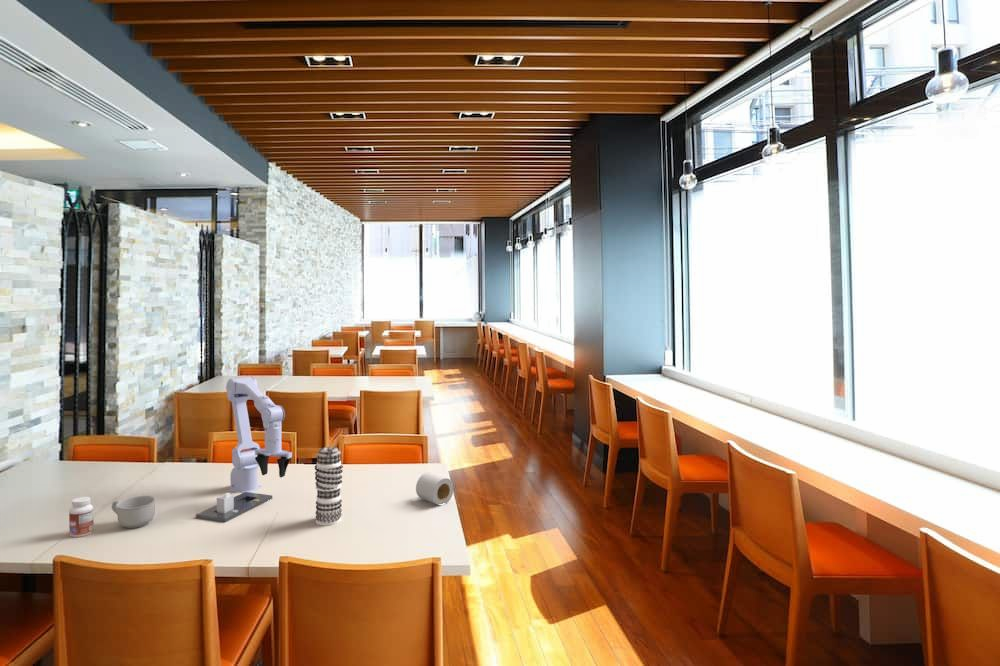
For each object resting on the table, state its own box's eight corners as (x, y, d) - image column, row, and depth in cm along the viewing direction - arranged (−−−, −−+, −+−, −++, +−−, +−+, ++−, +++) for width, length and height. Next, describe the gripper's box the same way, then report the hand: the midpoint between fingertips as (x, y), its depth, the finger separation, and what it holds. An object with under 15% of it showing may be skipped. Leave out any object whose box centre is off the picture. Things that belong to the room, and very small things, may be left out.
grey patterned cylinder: (327, 528, 188) (327, 453, 187) (308, 521, 193) (308, 449, 192) (348, 519, 196) (348, 447, 195) (329, 513, 201) (330, 443, 200)
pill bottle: (67, 533, 180) (66, 499, 179) (90, 528, 185) (89, 494, 184) (72, 539, 176) (71, 504, 175) (96, 533, 181) (95, 499, 180)
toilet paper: (453, 501, 216) (453, 475, 215) (433, 508, 208) (433, 481, 208) (436, 495, 222) (436, 469, 222) (415, 501, 215) (416, 475, 214)
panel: (196, 518, 194) (195, 513, 194) (245, 495, 217) (245, 491, 217) (225, 523, 191) (225, 518, 191) (272, 499, 214) (272, 494, 214)
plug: (216, 514, 197) (216, 494, 197) (226, 510, 201) (226, 490, 201) (224, 515, 196) (224, 495, 196) (233, 511, 200) (233, 491, 200)
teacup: (163, 521, 191) (162, 497, 191) (132, 533, 181) (132, 508, 181) (132, 515, 196) (132, 492, 196) (101, 526, 186) (101, 502, 185)
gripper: (249, 440, 208) (249, 476, 209) (283, 443, 204) (283, 480, 205) (262, 435, 215) (262, 471, 216) (295, 439, 211) (295, 475, 212)
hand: (273, 475), depth 211 cm, fingers open, 7 cm apart
